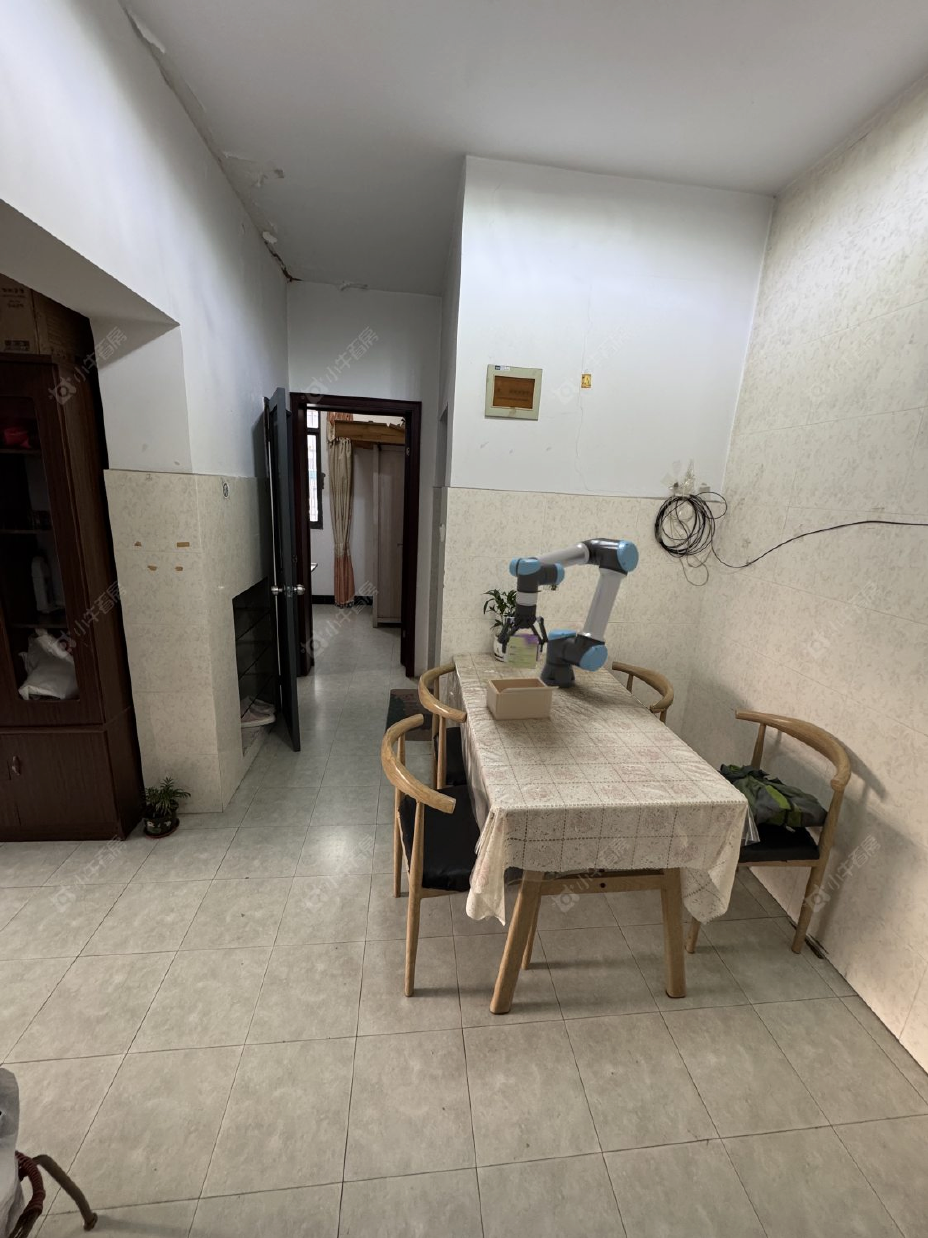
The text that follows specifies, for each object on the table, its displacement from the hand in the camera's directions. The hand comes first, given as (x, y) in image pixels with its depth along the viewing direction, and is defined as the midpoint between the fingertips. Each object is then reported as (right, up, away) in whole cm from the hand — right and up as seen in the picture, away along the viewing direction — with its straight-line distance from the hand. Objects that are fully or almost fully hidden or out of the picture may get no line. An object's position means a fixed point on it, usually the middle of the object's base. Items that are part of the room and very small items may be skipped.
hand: (521, 661), depth 183 cm
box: (0, -2, 0) cm, 2 cm away
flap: (+2, -9, -9) cm, 13 cm away
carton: (-1, -19, +5) cm, 20 cm away
